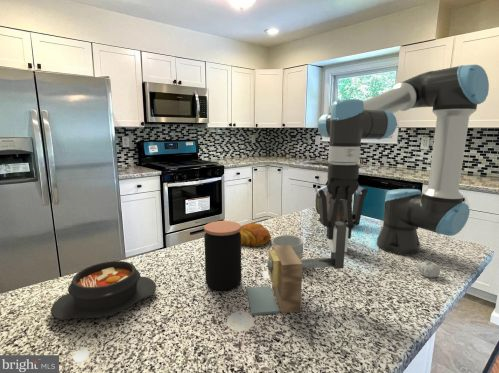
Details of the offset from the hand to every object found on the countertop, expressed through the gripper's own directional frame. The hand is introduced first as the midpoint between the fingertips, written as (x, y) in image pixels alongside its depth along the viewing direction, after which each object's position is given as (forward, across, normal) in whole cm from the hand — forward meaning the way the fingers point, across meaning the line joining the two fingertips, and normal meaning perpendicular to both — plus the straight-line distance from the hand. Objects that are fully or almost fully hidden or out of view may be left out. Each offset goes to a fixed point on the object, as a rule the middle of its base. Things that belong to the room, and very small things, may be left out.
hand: (337, 249), depth 78 cm
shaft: (+5, -9, 0) cm, 10 cm away
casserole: (+14, -62, +4) cm, 63 cm away
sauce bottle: (+14, +14, +32) cm, 38 cm away
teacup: (+14, -8, +24) cm, 29 cm away
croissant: (+14, -18, +43) cm, 49 cm away
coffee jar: (+14, -31, +10) cm, 35 cm away
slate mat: (+14, -21, 0) cm, 25 cm away
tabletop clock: (+14, +25, +64) cm, 70 cm away
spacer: (+8, -17, 0) cm, 19 cm away
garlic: (+14, +34, +7) cm, 37 cm away
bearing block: (+14, -14, 0) cm, 20 cm away
